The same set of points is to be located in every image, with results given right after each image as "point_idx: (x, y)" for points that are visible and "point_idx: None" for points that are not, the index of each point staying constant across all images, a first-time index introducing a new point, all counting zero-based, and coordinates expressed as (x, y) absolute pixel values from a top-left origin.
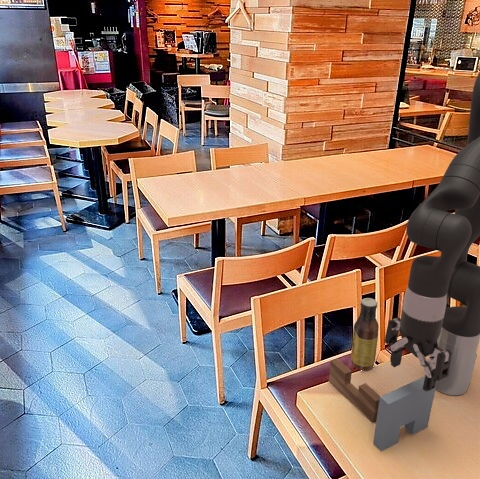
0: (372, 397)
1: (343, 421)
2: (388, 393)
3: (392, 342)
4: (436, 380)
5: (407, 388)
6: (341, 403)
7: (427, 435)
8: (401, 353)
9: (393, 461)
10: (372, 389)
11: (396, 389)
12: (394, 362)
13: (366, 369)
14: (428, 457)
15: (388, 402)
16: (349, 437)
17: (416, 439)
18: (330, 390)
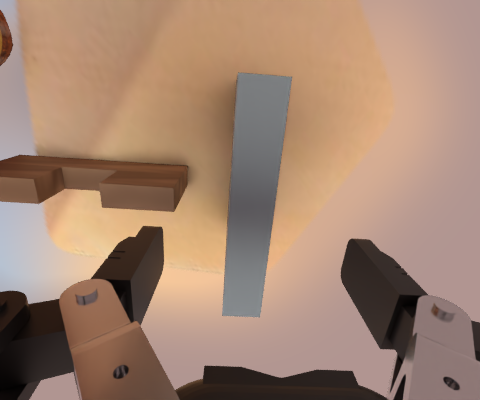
0: (158, 209)
1: None
2: (226, 287)
3: (49, 376)
4: (419, 288)
5: (246, 221)
6: None
7: None
8: (138, 272)
9: (277, 221)
10: (131, 186)
11: (227, 254)
12: (156, 282)
13: (10, 48)
14: (314, 158)
15: (254, 312)
16: (192, 247)
17: None
18: None
